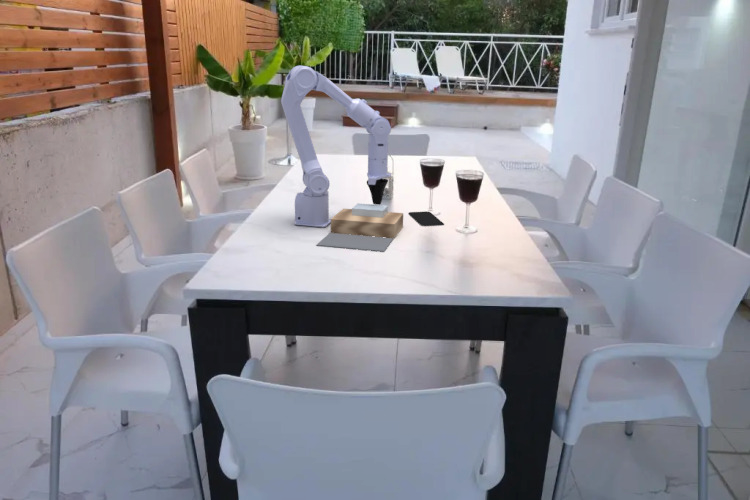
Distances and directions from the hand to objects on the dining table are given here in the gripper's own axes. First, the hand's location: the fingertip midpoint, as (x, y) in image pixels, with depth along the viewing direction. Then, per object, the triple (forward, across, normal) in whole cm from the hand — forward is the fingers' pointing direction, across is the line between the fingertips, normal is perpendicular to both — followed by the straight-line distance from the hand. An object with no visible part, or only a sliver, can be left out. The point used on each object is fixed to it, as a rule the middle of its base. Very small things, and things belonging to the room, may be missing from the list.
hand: (377, 203), depth 176 cm
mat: (+5, -24, 0) cm, 24 cm away
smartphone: (+6, +5, -14) cm, 16 cm away
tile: (+1, -8, 0) cm, 9 cm away
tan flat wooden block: (+5, -11, 0) cm, 12 cm away
